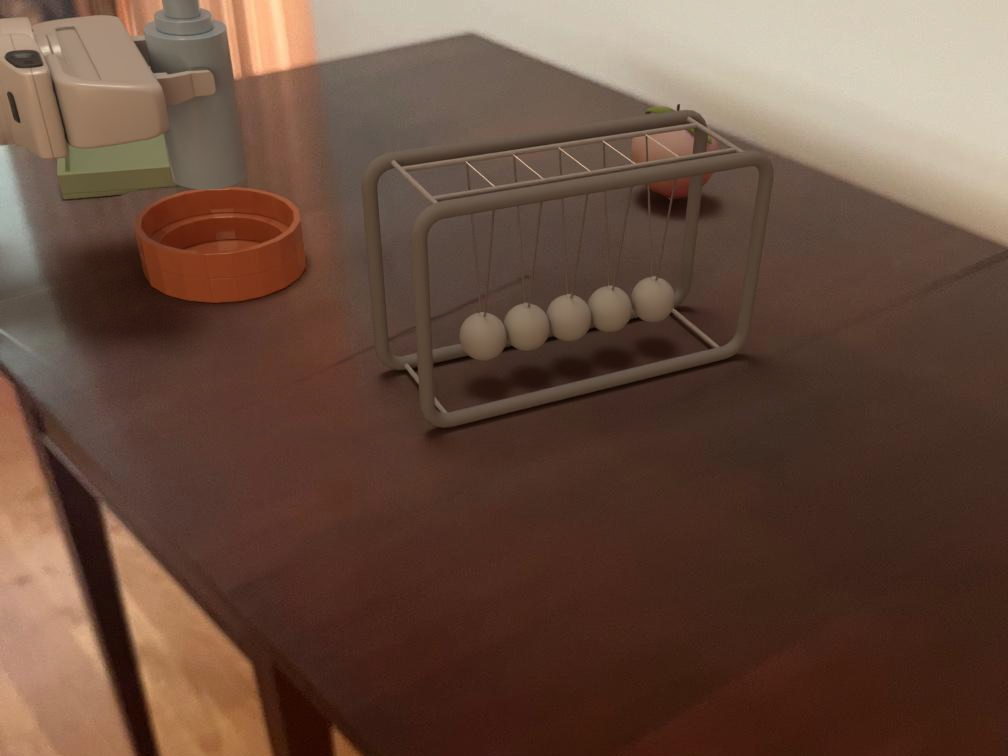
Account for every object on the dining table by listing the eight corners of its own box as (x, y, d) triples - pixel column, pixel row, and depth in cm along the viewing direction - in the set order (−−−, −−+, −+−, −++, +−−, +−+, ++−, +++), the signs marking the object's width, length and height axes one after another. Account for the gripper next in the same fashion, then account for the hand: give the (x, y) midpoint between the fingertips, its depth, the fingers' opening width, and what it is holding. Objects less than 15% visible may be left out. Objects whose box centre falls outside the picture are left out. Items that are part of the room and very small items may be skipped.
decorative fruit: (609, 200, 124) (615, 103, 117) (654, 178, 129) (662, 84, 122) (682, 226, 120) (692, 127, 113) (725, 202, 125) (737, 106, 118)
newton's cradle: (684, 303, 107) (706, 104, 95) (748, 356, 100) (780, 149, 89) (375, 371, 95) (356, 154, 84) (424, 436, 89) (412, 210, 77)
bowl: (208, 324, 100) (198, 269, 96) (114, 269, 106) (102, 216, 103) (338, 272, 108) (332, 220, 105) (243, 224, 115) (235, 174, 111)
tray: (204, 188, 121) (199, 164, 119) (63, 199, 117) (57, 175, 115) (189, 127, 133) (185, 105, 131) (61, 136, 129) (55, 113, 127)
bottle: (200, 196, 98) (162, -20, 87) (156, 174, 101) (114, -38, 90) (263, 176, 102) (234, -33, 91) (218, 156, 105) (185, -49, 94)
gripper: (17, 81, 100) (183, 66, 105) (48, 168, 86) (237, 147, 91) (-4, 1, 95) (170, -10, 100) (25, 79, 82) (224, 62, 87)
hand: (202, 65), depth 96 cm, fingers closed on bottle, 6 cm apart
